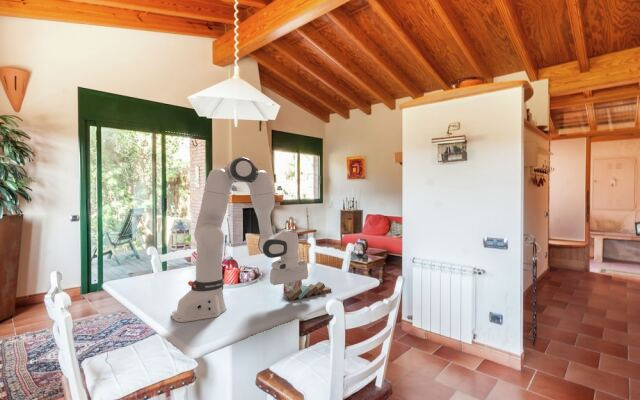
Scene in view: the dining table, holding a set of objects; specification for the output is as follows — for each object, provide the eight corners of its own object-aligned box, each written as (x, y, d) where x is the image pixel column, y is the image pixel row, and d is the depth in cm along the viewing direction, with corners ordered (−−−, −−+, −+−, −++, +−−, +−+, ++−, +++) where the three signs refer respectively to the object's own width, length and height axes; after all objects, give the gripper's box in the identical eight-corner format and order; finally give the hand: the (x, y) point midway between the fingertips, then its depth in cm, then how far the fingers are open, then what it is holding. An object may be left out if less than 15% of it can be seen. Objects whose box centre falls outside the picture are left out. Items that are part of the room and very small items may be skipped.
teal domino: (298, 296, 160) (308, 286, 163) (293, 293, 163) (303, 284, 167) (300, 299, 161) (310, 290, 164) (295, 297, 164) (305, 288, 168)
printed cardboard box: (291, 281, 193) (291, 261, 192) (301, 281, 192) (301, 261, 192) (283, 292, 171) (283, 269, 171) (295, 293, 171) (295, 269, 170)
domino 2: (305, 294, 162) (316, 285, 166) (300, 292, 166) (310, 283, 170) (307, 297, 163) (317, 289, 167) (302, 295, 167) (312, 287, 170)
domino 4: (320, 291, 168) (331, 288, 173) (315, 289, 172) (326, 286, 176) (320, 295, 168) (331, 292, 173) (315, 293, 172) (326, 290, 176)
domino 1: (290, 297, 157) (300, 288, 161) (285, 295, 161) (295, 286, 164) (292, 301, 158) (302, 292, 161) (287, 298, 161) (297, 289, 165)
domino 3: (314, 292, 166) (323, 283, 169) (309, 290, 169) (318, 281, 173) (315, 295, 166) (325, 287, 170) (310, 293, 170) (320, 285, 174)
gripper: (303, 258, 168) (303, 285, 168) (268, 264, 155) (268, 293, 156) (310, 260, 163) (310, 288, 163) (274, 266, 150) (275, 296, 151)
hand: (289, 290), depth 159 cm, fingers closed
